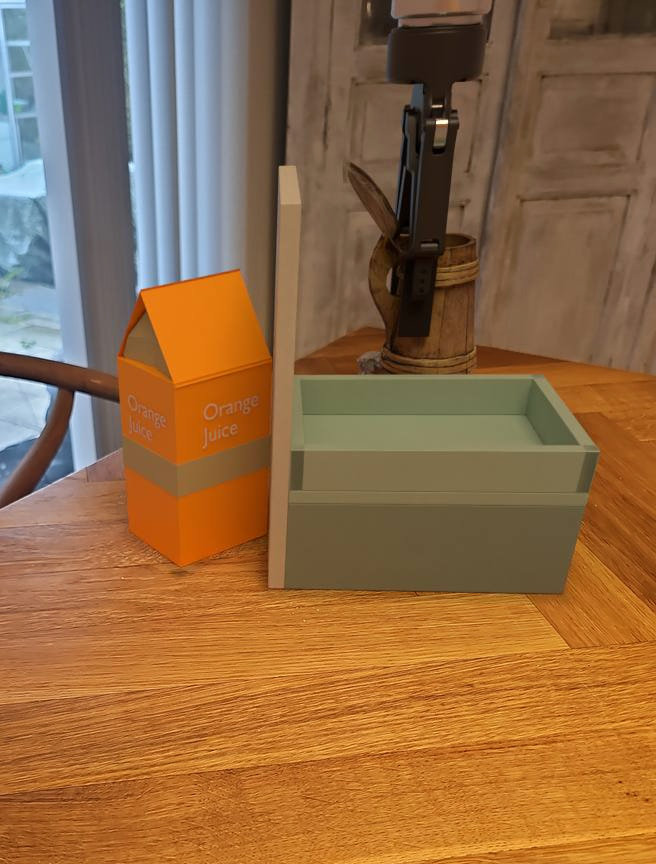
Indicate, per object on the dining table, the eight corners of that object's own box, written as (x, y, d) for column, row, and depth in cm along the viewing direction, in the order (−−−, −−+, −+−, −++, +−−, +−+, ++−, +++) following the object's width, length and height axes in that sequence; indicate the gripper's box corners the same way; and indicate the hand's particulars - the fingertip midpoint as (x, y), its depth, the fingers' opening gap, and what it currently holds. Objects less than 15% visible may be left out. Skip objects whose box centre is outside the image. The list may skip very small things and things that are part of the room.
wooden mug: (321, 361, 87) (330, 155, 76) (451, 346, 88) (477, 141, 77) (352, 392, 79) (367, 169, 69) (493, 375, 81) (528, 154, 70)
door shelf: (516, 500, 75) (588, 158, 60) (563, 594, 63) (668, 195, 48) (268, 497, 77) (278, 165, 62) (268, 588, 65) (280, 203, 50)
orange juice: (268, 534, 72) (276, 277, 60) (180, 568, 68) (170, 301, 56) (211, 500, 77) (208, 259, 66) (127, 530, 73) (108, 279, 62)
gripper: (377, 23, 77) (358, 296, 90) (405, 26, 61) (377, 358, 74) (465, 18, 76) (433, 294, 89) (517, 20, 60) (468, 356, 73)
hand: (407, 323), depth 82 cm, fingers closed on wooden mug, 7 cm apart
